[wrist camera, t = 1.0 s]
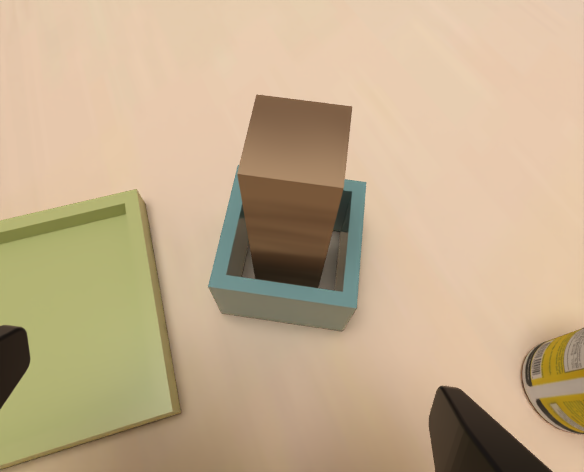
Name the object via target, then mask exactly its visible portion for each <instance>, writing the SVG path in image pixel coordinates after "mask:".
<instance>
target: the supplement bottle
mask: <svg viewBox="0 0 584 472" xmlns="http://www.w3.org/2000/svg"><path fill="white" fill-rule="evenodd" d="M522 379H523V384H524V388H525V391H526V394H527V396H528V398H529V400H530V401H531V403H532V405H533V406H534V407H535V409H536V410H537V411H538V413H539V414H540V415H541V416H542V417H543V418H544V419H545V420H547V421H548V422H549V423H551V424H552V425H554V426H555V427H557V428H559V429H561V430H564V431H567V432H570V433H576V434H584V328H582V329H579V330H577V331H574V332H571V333H569V334H566V335H563V336H560V337H557V338H555V339H552V340H549V341H546V342H543V343H541V344H539V345H537V346H536V347H535V348H533V349H532V350H531V351H530V352H529V354H528V355H527V357H526V359H525V361H524V364H523V371H522Z"/></svg>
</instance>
